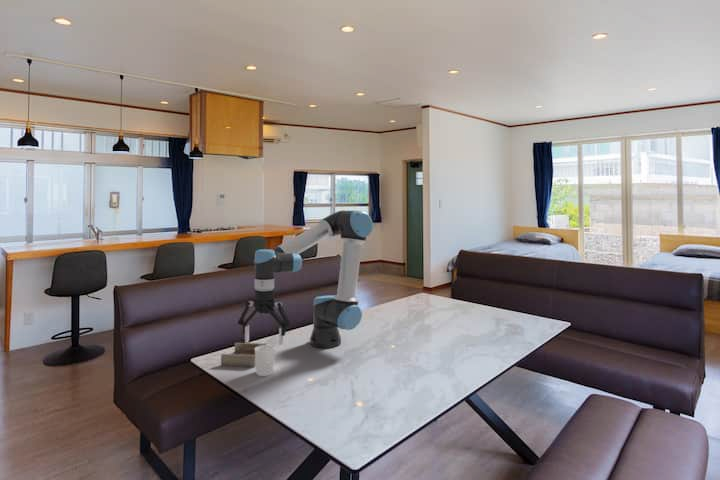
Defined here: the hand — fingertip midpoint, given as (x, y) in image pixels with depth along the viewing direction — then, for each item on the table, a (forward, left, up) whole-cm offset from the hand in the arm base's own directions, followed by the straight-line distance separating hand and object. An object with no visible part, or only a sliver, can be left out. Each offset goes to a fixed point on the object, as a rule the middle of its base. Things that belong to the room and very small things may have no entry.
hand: (263, 342), depth 160 cm
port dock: (+13, -13, -12) cm, 22 cm away
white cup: (0, 0, -12) cm, 12 cm away
